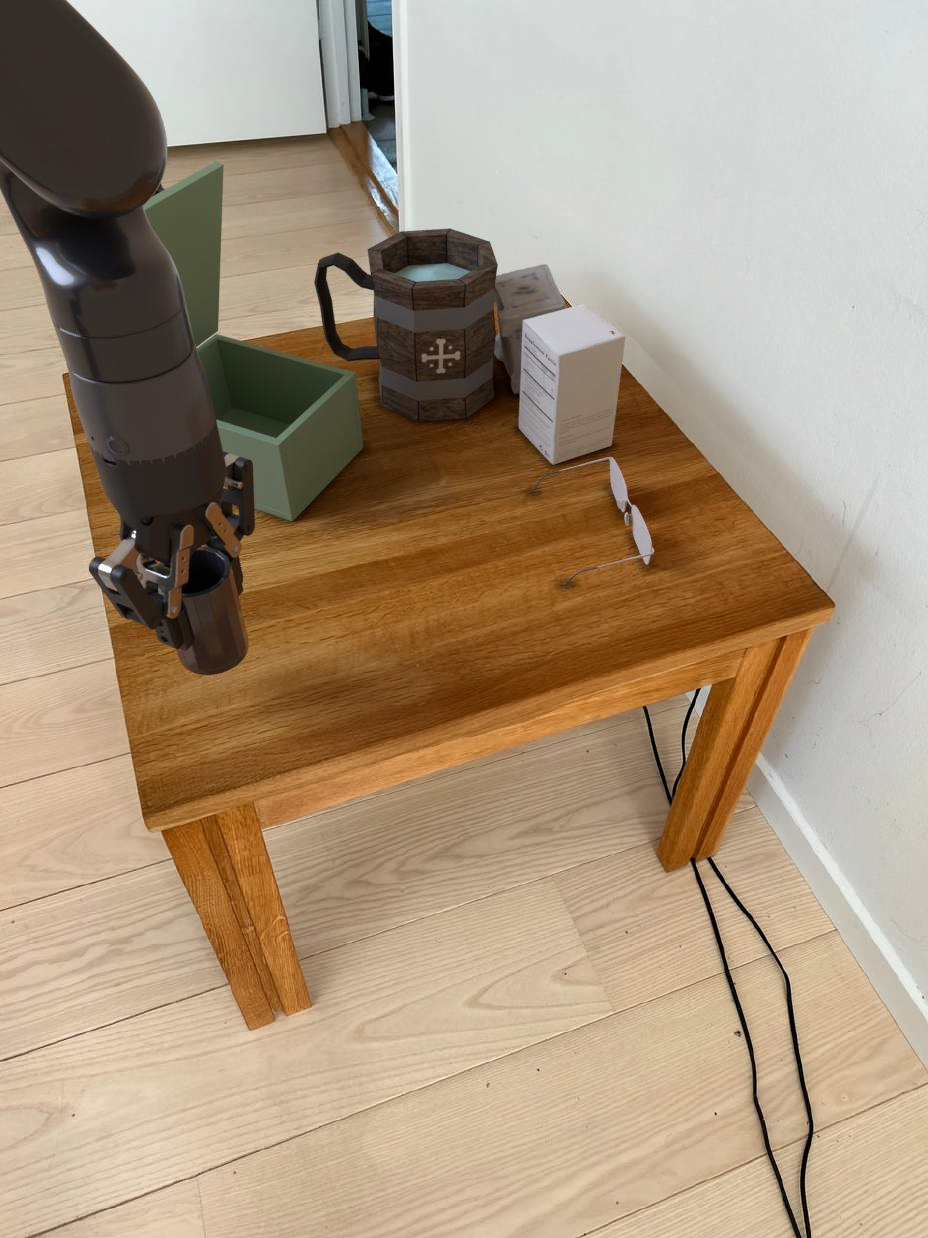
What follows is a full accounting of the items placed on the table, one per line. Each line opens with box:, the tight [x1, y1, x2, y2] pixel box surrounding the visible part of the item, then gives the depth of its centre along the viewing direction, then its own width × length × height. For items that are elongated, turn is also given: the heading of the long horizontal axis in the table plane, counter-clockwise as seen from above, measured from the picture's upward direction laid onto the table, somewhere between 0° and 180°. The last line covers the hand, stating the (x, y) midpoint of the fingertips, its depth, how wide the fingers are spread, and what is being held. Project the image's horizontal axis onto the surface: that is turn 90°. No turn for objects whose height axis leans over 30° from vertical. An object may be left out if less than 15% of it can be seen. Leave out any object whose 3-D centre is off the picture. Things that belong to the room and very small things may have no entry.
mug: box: [313, 227, 499, 423], centre depth 98 cm, size 20×14×15 cm
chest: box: [196, 333, 364, 522], centre depth 91 cm, size 17×13×9 cm
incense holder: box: [494, 264, 567, 395], centre depth 101 cm, size 10×8×10 cm
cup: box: [158, 546, 250, 676], centre depth 67 cm, size 5×5×8 cm
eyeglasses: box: [530, 456, 655, 586], centre depth 85 cm, size 14×8×4 cm, turn 10°
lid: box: [143, 160, 224, 348], centre depth 83 cm, size 18×13×5 cm
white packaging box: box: [518, 303, 626, 466], centre depth 92 cm, size 7×7×13 cm
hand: (204, 617), depth 67 cm, fingers closed on cup, 5 cm apart
